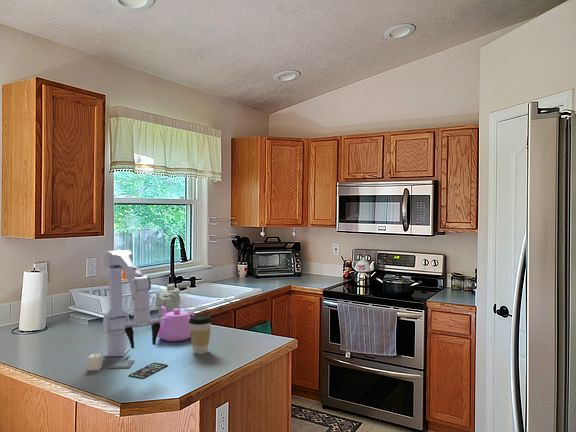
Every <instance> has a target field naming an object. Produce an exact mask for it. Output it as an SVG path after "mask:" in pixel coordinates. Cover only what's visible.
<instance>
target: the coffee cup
mask: <svg viewBox="0 0 576 432" xmlns="http://www.w3.org/2000/svg"><path fill="white" fill-rule="evenodd" d="M212 322H213V319H212V317H211V316H210V315H209V314H195V315H194V316H192V315H191V316H190V320H189V323H190V334H191V338H190V341H191V346H192V347H191V348H192V354H194V355H206V354H207V353H208V352H209V344H210V336H211V329H212V327H211V325H212Z"/></svg>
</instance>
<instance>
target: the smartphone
mask: <svg viewBox="0 0 576 432" xmlns="http://www.w3.org/2000/svg"><path fill="white" fill-rule="evenodd" d="M168 366H169V364H167V363H166V364H165V363H159V362H152V363H150V364H148V365H146V366H144V367H142V368H140V369H137V370H136V371H134V372H132V373H130V374H129V375H127V376H128V377H129V378H134V379H139V380H140V379H141V380H144V379H147V378H148V377H151V376H152V375H154V374H156V373H158V372H160V371H162V370H163V369H166V368H167V367H168Z"/></svg>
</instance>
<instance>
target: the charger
mask: <svg viewBox="0 0 576 432" xmlns="http://www.w3.org/2000/svg"><path fill="white" fill-rule="evenodd" d="M102 367H103V353H91V354H90V355H89V356H88V357H87V371H100V370H101V368H102Z"/></svg>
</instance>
